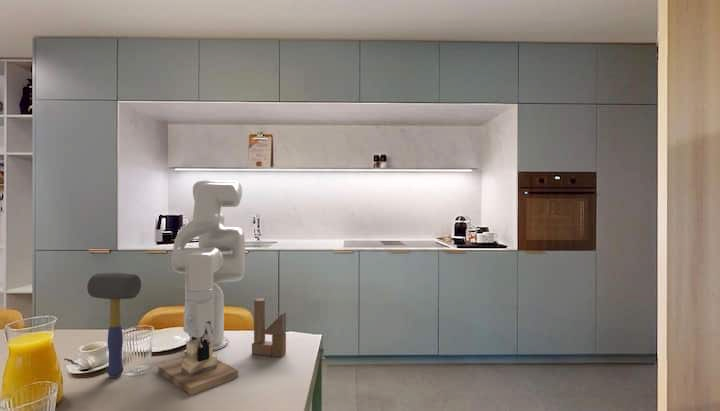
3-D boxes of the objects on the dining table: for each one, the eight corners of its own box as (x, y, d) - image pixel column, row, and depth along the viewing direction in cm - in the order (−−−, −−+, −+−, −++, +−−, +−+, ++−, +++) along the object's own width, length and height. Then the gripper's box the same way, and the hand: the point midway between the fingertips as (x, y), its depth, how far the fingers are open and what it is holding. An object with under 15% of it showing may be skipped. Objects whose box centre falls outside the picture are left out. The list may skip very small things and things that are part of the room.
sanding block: (189, 377, 109) (189, 346, 108) (181, 371, 112) (181, 341, 112) (216, 368, 115) (217, 339, 114) (208, 362, 118) (208, 334, 118)
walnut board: (158, 372, 116) (158, 366, 116) (203, 358, 126) (203, 352, 126) (190, 395, 103) (190, 387, 103) (238, 377, 114) (238, 370, 113)
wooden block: (281, 357, 127) (281, 302, 127) (251, 354, 130) (251, 300, 129) (286, 353, 131) (286, 299, 131) (256, 350, 133) (256, 297, 133)
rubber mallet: (144, 371, 117) (143, 271, 116) (126, 383, 109) (125, 276, 109) (105, 369, 118) (104, 270, 117) (85, 381, 110) (84, 274, 110)
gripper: (173, 292, 116) (174, 353, 116) (200, 302, 104) (200, 370, 105) (198, 287, 121) (198, 346, 122) (226, 297, 110) (226, 362, 111)
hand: (199, 357), depth 113 cm, fingers closed on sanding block, 3 cm apart
